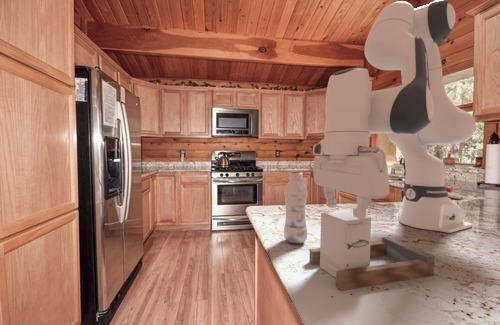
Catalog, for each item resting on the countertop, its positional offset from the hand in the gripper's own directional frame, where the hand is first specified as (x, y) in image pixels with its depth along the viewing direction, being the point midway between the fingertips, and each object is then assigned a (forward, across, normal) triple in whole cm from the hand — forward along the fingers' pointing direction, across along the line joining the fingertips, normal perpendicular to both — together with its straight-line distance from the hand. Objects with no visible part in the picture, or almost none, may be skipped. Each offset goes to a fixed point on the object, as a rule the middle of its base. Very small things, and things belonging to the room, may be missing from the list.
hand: (344, 211), depth 51 cm
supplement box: (+13, 0, 0) cm, 13 cm away
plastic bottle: (+13, +18, +2) cm, 23 cm away
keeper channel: (+13, 0, -6) cm, 15 cm away
